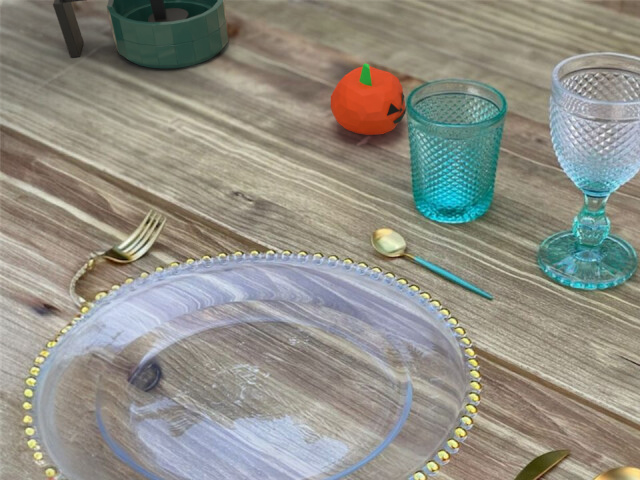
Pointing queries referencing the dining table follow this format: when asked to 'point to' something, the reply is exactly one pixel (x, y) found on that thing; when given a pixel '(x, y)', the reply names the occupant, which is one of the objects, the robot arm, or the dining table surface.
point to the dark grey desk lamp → (73, 32)
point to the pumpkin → (368, 101)
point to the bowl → (168, 32)
